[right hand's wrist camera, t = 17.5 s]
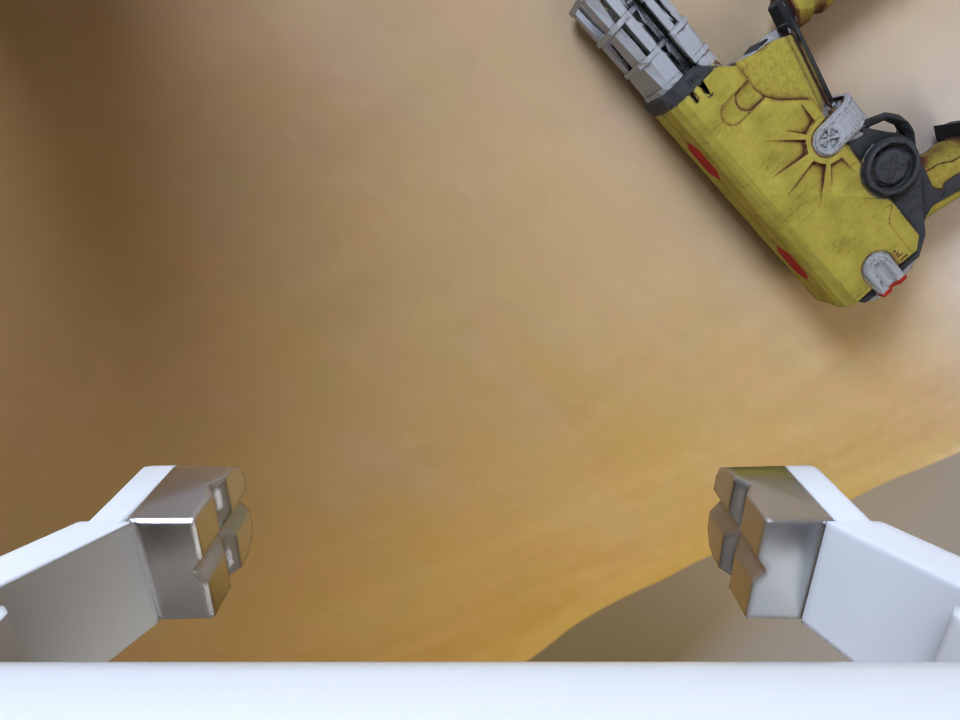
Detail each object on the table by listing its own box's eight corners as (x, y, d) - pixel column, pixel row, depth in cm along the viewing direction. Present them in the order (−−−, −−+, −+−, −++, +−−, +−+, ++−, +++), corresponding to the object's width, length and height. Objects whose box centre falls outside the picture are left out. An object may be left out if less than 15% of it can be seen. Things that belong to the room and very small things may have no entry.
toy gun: (820, -276, 26) (578, -6, 29) (1092, 126, 31) (865, 326, 34) (767, -207, 31) (562, 21, 33) (1012, 135, 36) (817, 310, 38)
